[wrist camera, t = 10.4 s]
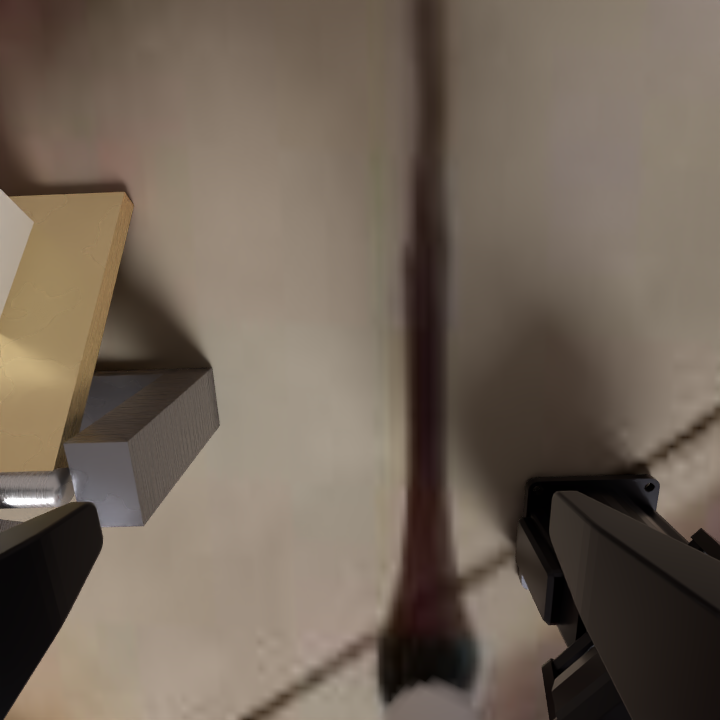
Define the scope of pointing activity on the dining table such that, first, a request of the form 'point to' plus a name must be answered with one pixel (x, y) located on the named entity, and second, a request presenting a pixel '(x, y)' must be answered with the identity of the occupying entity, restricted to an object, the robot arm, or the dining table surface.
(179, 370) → the frame
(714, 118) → the dining table surface
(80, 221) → the trapdoor
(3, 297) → the cube
